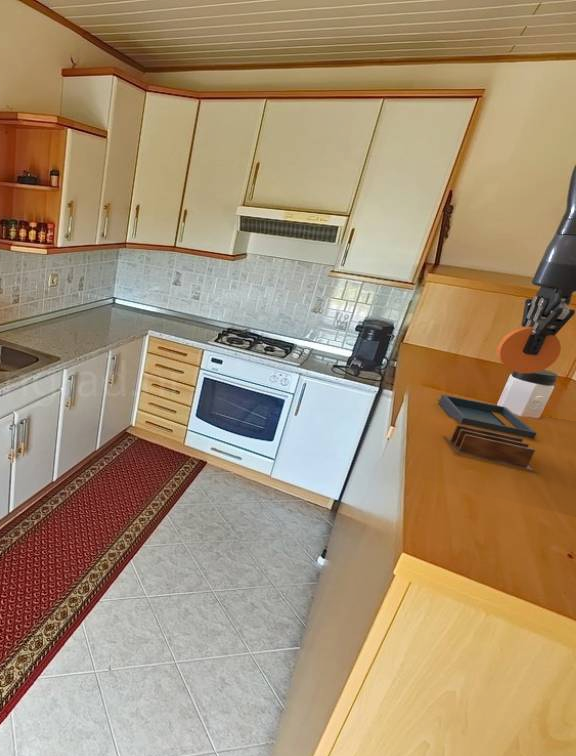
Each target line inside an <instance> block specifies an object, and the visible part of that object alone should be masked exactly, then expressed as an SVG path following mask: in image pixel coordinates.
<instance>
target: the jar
mask: <svg viewBox="0 0 576 756" xmlns="http://www.w3.org/2000/svg"><path fill="white" fill-rule="evenodd" d="M558 377H559V375H558V374H557V373H556V372H553V371H551V370H547V369H544V370H542V371H539V372H535V373H518V372H514V371H512V373H510V375H509V376H508V379H507V381H506V383H505V385H504V388H503V390H502V392H501V394H500V397H499V399H498V401H497V403H496V405H498V406H503V407H506V408H508V409H509V410H510V411H511V412H512V413H513V414H515V415H516V416H519V417H525V418H534V419H540V418H541V416H542V414H543V412H544V410H545V408H546V405H547V404H548V401H549V400H550V397H551V395H552V393H553V391H554V389H555V386H554V385H555V383H556V382H557V380H558Z"/></svg>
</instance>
